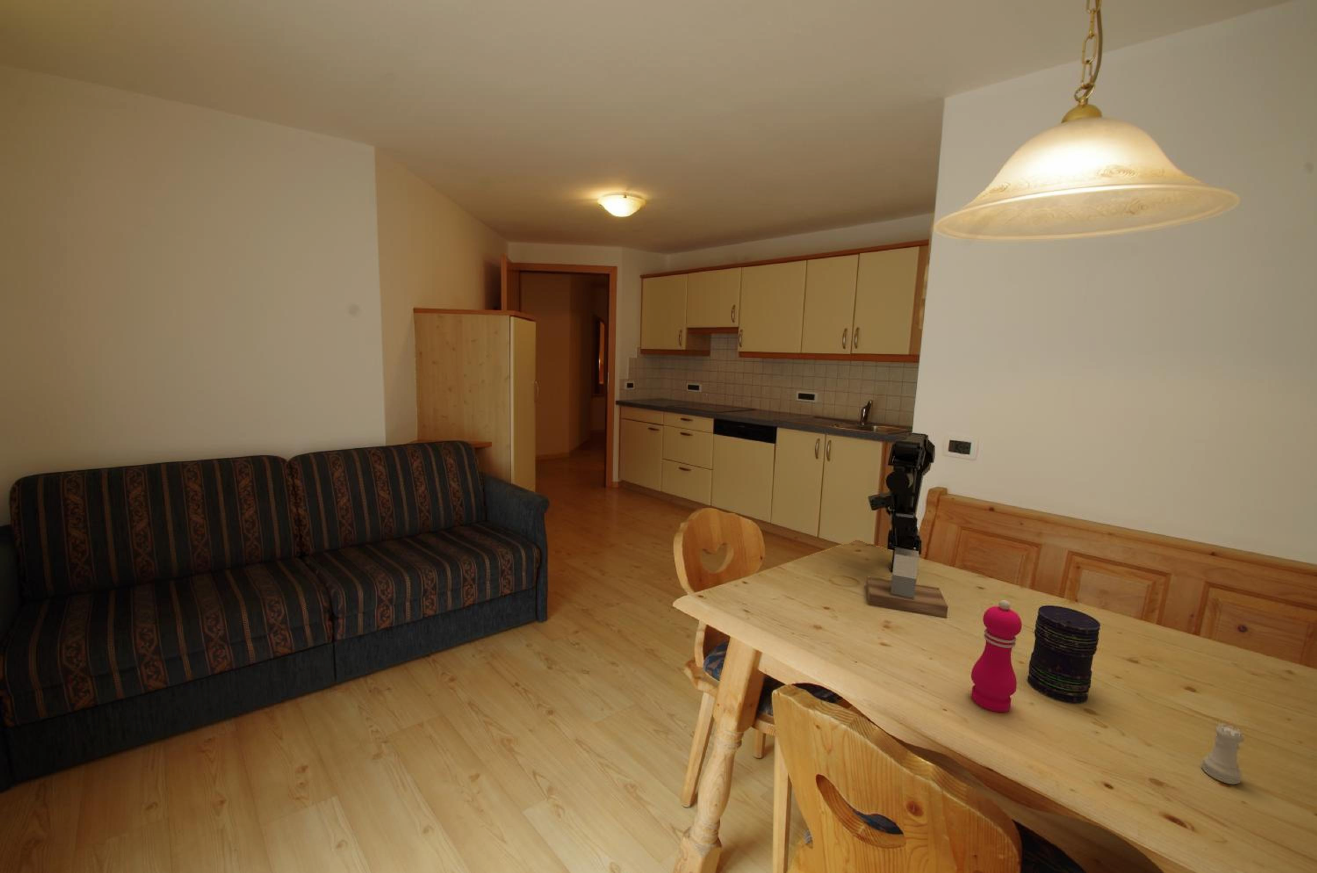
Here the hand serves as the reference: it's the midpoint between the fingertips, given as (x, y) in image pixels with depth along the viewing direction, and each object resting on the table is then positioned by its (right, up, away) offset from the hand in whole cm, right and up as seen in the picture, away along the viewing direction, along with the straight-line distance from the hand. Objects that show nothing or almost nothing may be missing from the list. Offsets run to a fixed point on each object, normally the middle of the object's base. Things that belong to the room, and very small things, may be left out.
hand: (896, 541), depth 152 cm
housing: (-3, -12, -10) cm, 16 cm away
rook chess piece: (+22, -24, -66) cm, 74 cm away
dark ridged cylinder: (+12, -21, -44) cm, 50 cm away
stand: (-2, -14, -8) cm, 17 cm away
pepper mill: (-4, -21, -50) cm, 54 cm away
